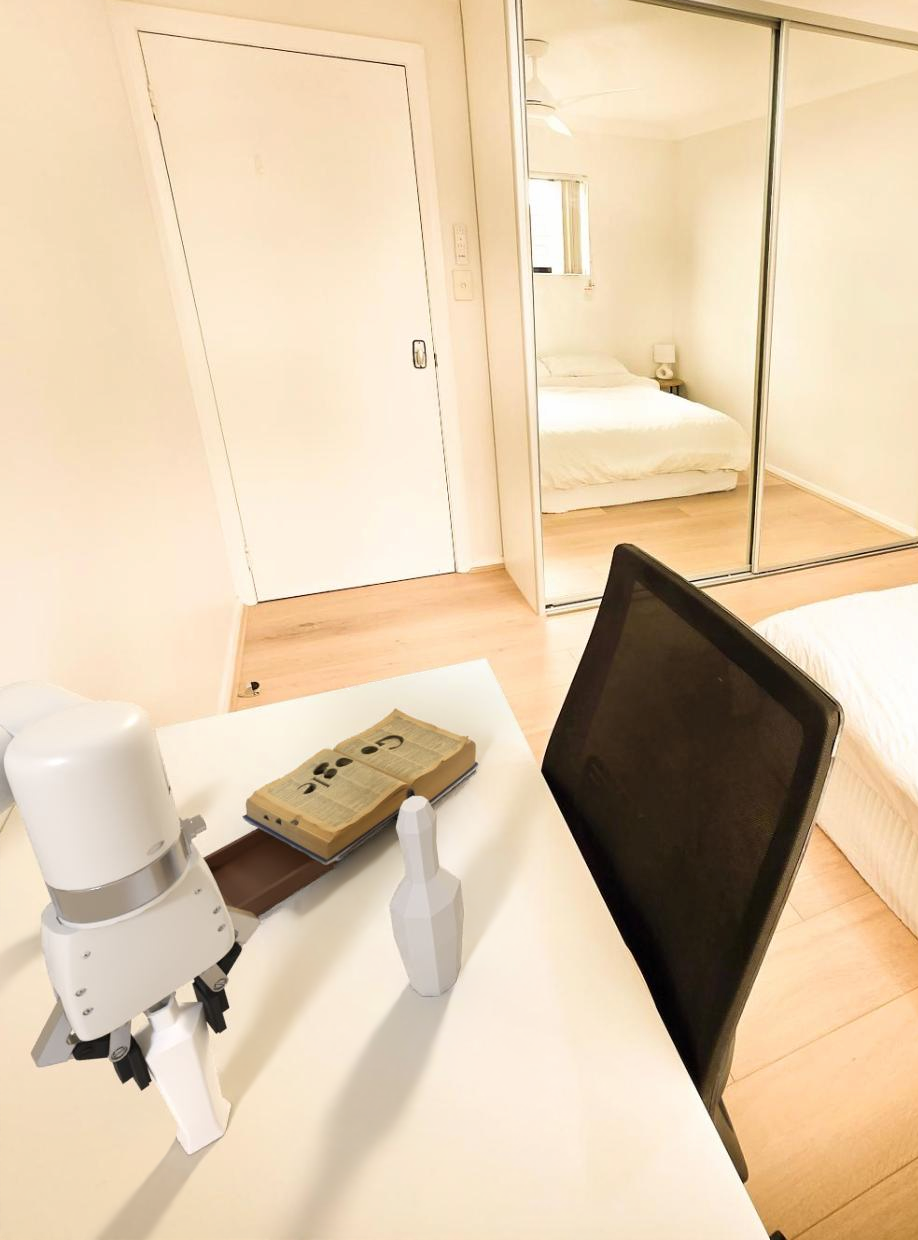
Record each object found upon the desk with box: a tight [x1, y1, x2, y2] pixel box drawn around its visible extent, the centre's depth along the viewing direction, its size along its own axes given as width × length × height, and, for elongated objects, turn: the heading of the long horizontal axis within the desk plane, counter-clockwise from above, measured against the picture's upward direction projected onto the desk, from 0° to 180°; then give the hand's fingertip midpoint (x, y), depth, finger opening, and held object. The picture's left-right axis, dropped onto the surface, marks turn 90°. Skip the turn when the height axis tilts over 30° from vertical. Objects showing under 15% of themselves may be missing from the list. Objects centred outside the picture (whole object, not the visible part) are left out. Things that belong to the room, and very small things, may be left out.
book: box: [242, 708, 479, 865], centre depth 95 cm, size 25×17×6 cm
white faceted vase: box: [132, 990, 232, 1155], centre depth 55 cm, size 5×4×15 cm
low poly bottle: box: [388, 796, 465, 997], centre depth 68 cm, size 6×6×22 cm
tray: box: [203, 827, 336, 918], centre depth 83 cm, size 11×11×3 cm
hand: (177, 1046), depth 55 cm, fingers closed on white faceted vase, 4 cm apart
